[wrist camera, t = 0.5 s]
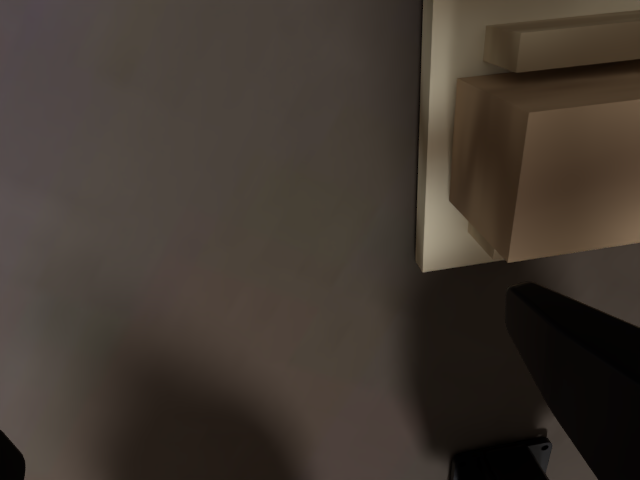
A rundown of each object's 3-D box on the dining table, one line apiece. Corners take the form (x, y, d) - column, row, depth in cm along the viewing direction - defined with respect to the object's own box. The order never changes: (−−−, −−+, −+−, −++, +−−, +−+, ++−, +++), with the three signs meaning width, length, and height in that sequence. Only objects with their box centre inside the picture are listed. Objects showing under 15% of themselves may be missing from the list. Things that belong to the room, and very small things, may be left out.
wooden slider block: (636, 174, 21) (753, 233, 17) (449, 200, 20) (515, 270, 16) (692, -35, 17) (867, -36, 13) (462, -13, 16) (557, -6, 12)
